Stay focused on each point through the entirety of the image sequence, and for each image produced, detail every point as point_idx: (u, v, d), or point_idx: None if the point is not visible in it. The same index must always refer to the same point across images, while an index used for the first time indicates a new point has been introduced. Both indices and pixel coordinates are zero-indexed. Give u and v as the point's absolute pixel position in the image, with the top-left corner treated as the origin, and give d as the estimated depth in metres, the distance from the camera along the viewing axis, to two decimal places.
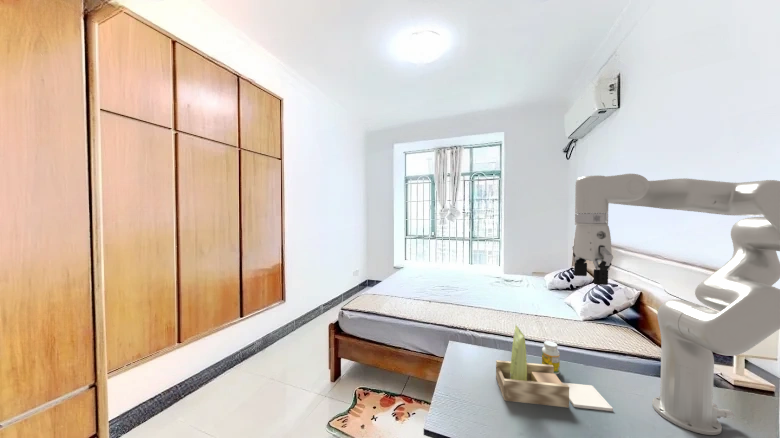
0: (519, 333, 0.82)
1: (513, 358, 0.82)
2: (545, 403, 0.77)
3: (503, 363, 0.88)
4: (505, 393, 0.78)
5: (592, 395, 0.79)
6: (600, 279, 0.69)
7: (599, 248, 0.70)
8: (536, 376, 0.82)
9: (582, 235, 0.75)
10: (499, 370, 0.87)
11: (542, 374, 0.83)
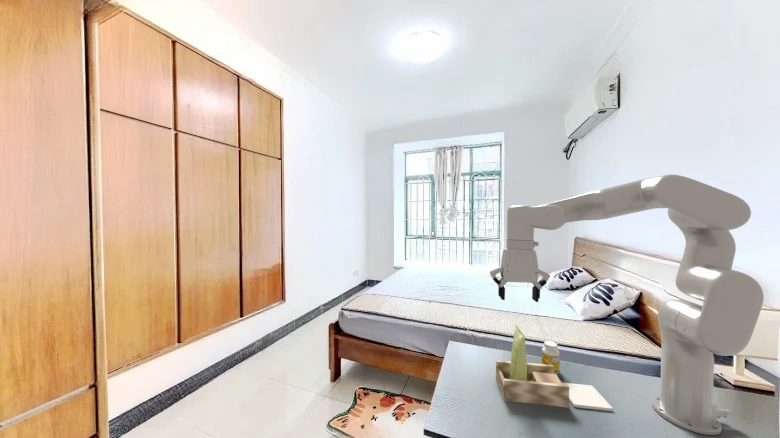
0: (519, 333, 0.82)
1: (513, 358, 0.82)
2: (545, 403, 0.77)
3: (503, 363, 0.88)
4: (505, 393, 0.78)
5: (592, 395, 0.79)
6: None
7: None
8: (536, 376, 0.83)
9: (524, 260, 0.79)
10: (499, 370, 0.87)
11: (542, 374, 0.83)
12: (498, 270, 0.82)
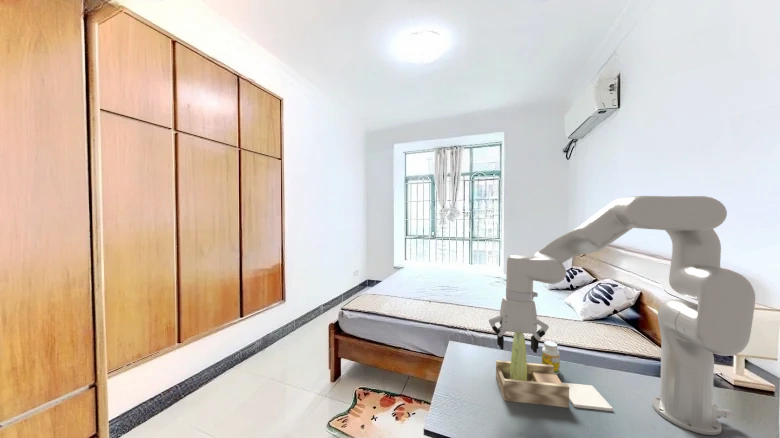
0: (519, 333, 0.82)
1: (513, 358, 0.82)
2: (545, 403, 0.77)
3: (503, 363, 0.88)
4: (505, 393, 0.78)
5: (592, 395, 0.79)
6: None
7: None
8: (536, 376, 0.83)
9: (523, 312, 0.80)
10: (499, 370, 0.87)
11: (543, 375, 0.84)
12: (497, 319, 0.83)
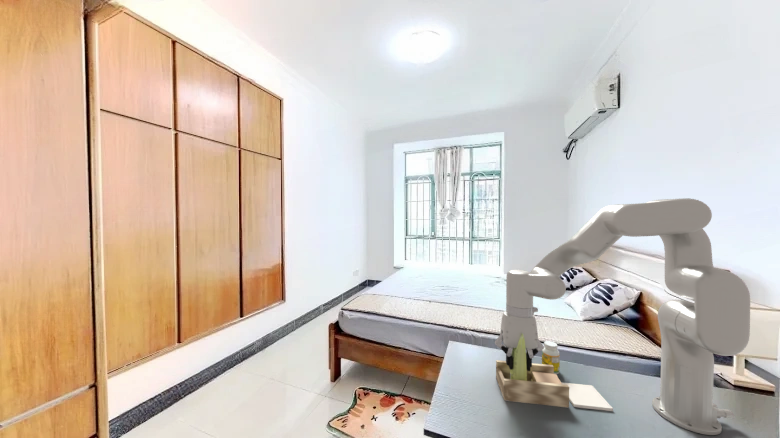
0: None
1: (513, 358, 0.82)
2: (545, 403, 0.77)
3: (503, 363, 0.88)
4: (505, 393, 0.78)
5: (592, 395, 0.79)
6: None
7: None
8: (536, 376, 0.83)
9: (524, 327, 0.80)
10: (499, 370, 0.87)
11: (542, 374, 0.83)
12: (501, 338, 0.83)
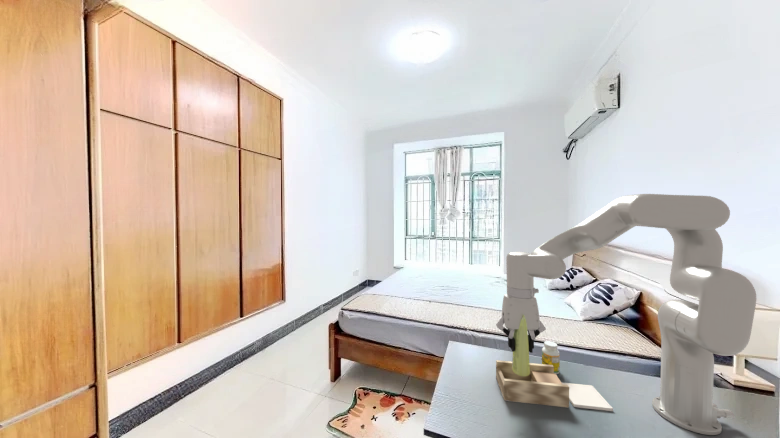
0: None
1: (515, 340, 0.82)
2: (545, 403, 0.77)
3: (503, 363, 0.88)
4: (505, 393, 0.78)
5: (592, 395, 0.79)
6: None
7: None
8: (536, 375, 0.83)
9: (525, 308, 0.80)
10: (499, 370, 0.87)
11: (542, 374, 0.84)
12: (502, 321, 0.83)
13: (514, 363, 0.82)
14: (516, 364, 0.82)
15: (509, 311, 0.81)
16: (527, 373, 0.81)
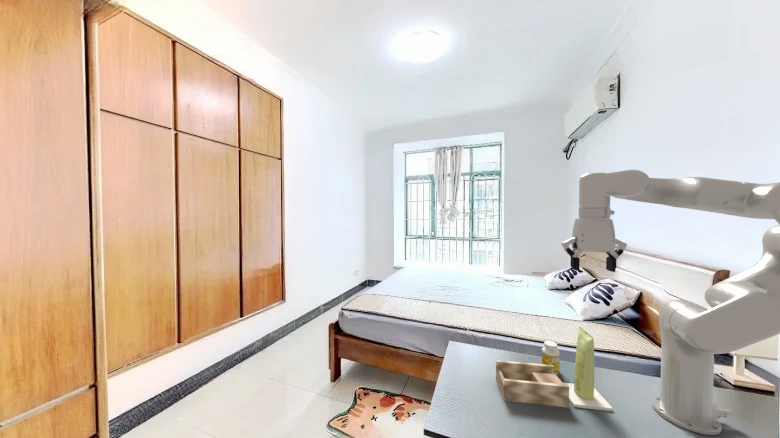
0: (585, 335, 0.79)
1: (579, 361, 0.79)
2: (545, 403, 0.77)
3: (503, 363, 0.88)
4: (505, 393, 0.78)
5: None
6: None
7: None
8: (537, 377, 0.82)
9: (601, 229, 0.77)
10: (499, 370, 0.87)
11: (542, 375, 0.83)
12: (571, 240, 0.81)
13: (577, 384, 0.79)
14: (579, 386, 0.79)
15: (583, 232, 0.79)
16: (592, 396, 0.78)
